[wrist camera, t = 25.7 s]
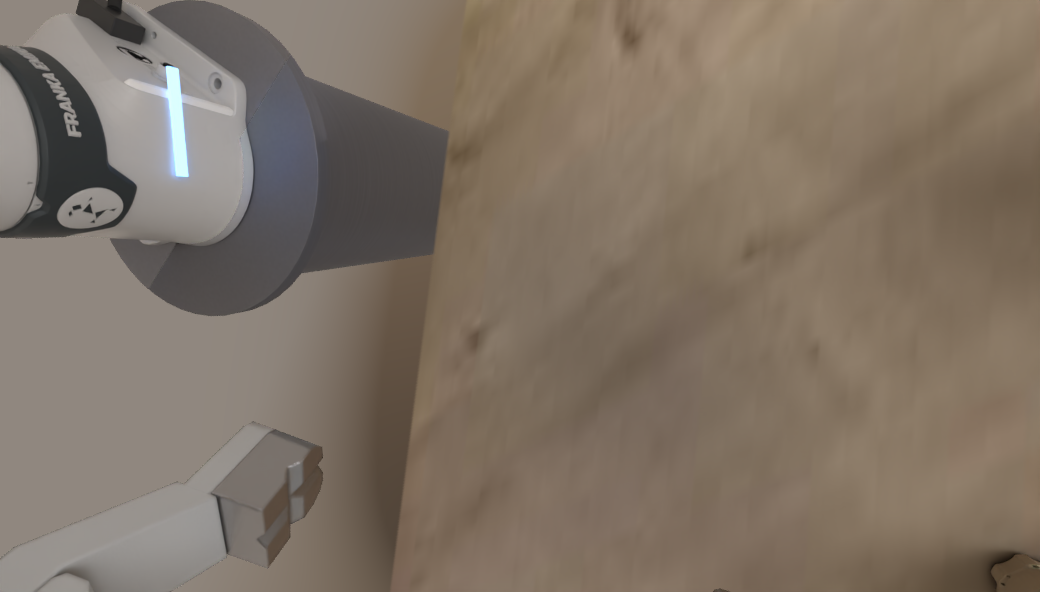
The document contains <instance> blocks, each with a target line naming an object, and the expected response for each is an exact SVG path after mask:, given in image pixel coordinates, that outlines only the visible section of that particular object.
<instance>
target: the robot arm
mask: <svg viewBox="0 0 1040 592" xmlns="http://www.w3.org/2000/svg"><path fill="white" fill-rule="evenodd" d="M76 14H78V15H79V16H78V15H74V14H60V15H56V16H54V17H52V18H50V19H48V20H47V21H46V22H45V23H44V24H43V25H42V26H41V27H40V28H39V29H38V30H37V31H36V32H35V33H34V34H33V35H32V37H31V38H30V39H29V40H28V41H27V42H26V43H25V44H24V45H23V46H22V47H19V46H2V45H0V237H1V238H18V239H19V238H20V239H21V238H22V239H32V238H40V237H41V238H45V237H66V236H85V237H101V238H116V239H135V240H140V241H141V242H142V243H143V244H146V245H163V244H166V243H170V242H176V243H182V244H188V245H193V246H207V245H212V244H215V243H217V242H219V241H221V240H223V239H224V238H226V237H227V236H228V235H229V234H231V233H232V232H233V230H234V229H235V228H236V227H237V226H238V224H239V223H240V221H241V220H242V218H243V216H244V214H245V212H246V209H247V207H248V204H249V201H250V197H251V193H252V186H253V157H252V150H251V145H250V141H249V137H248V133H247V129H246V122H245V119H246V103H247V97H246V89H245V85H244V83H243V82H242V81H241V80H240V79H239V78H238V77H236V76H235V75H234V74H232V73H231V72H229V71H228V70H227V69H225V68H224V67H222V66H221V65H220V64H218V63H217V62H215V61H214V60H213V59H211V58H210V57H208V56H207V55H206V54H204V53H203V52H202V51H200V50H199V49H197V48H196V47H195V46H193V45H192V44H190V43H189V42H188V41H186V40H185V39H183V38H182V37H181V36H179V35H178V34H176V33H175V32H174V31H172V30H171V29H169V28H168V27H167V26H165V25H164V24H162V23H161V22H160V21H158V20H157V19H155V18H154V17H153V16H151V15H150V14H148V13H147V12H146V11H144V10H143V9H141V8H140V7H138V6H136V5H135V4H131V3H127V2H122V0H108V1H106V0H79V3H78V6H77V10H76ZM322 458H323V452H322V447H321V446H318V445H315V444H313V443H310V442H307V441H304V440H302V439H299V438H296V437H294V436H291V435H288V434H286V433H283V432H280V431H278V430H276V429H273V428H270V427H267V426H264V425H261V424H259V423H256V422H251V423H249V424H248V425H245V426H244V427H243V428H241V429H240V430H239V431H238V432H237V433H236V434H235V435H234V436H233V437H232V438H231V439H230V440H229V441H228V442H227V443H226V444H225V445H224V446H223V447H222V448H221V449H219V450H218V452H216V453H215V454H214V455H213V456H212V457H211V458H210V459H209V460H208V461H207V462H206V463H205V464H204V465H203V466H202V467H201V468H200V469H199V470H198V471H197V472H196V473H195V474H194V475H193V476H192V477H190V478H189V479H188V480H187V481H186V482H185V483H184V484H183V483H179V482H175V483H172V484H170V485H167V486H165V487H162V488H160V489H157V490H155V491H152V492H150V493H147V494H145V495H142V496H140V497H137V498H135V499H132V500H130V501H128V502H125V503H122V504H120V505H117V506H115V507H113V508H110V509H108V510H105V511H103V512H100V513H98V514H95V515H93V516H90V517H88V518H85V519H83V520H80V521H78V522H75V523H73V524H70V525H68V526H66V527H63V528H60V529H58V530H55V531H53V532H51V533H48V534H46V535H43V536H41V537H38V538H36V539H33V540H31V541H28V542H26V543H23V544H21V545H18V546H16V547H13V548H12V549H11V550H10V551H8V552H7V553H6V554H5V555H4V556H2V557H1V558H0V592H171V591H173V590H175V589H176V588H178V587H179V586H181V585H183V584H184V583H186V582H188V581H189V580H191V579H192V578H194V577H195V576H197V575H199V574H200V573H202V572H204V571H205V570H207V569H209V568H210V567H212V566H214V565H215V564H217V563H218V562H220V561H222V560H223V559H225V558H226V557H227V554H228V555H231V556H234V557H237V558H240V559H243V560H245V561H249V562H251V563H254V564H257V565H260V566H262V567H265V568H269V566H270V564H271V563H272V562H273V561H274V559H275V558H276V557H277V555H278V554H279V552H280V551H281V550H282V548H283V547H284V545H285V544H286V542H287V541H288V540H289V538H290V524H292V523H294V522H296V521H298V520H300V519H302V518H304V517H305V516H306V514H307V513H308V511H309V510H310V509H311V507H312V506H313V504H314V502H315V500H316V498H317V496H318V494H319V492H320V489H321V485H322V481H323V472H322V470H321V469H320V468H319V466H318V464H319V462H320V461H321V460H322ZM713 592H729V591H726V590H723V589H716V590H714V591H713Z"/></svg>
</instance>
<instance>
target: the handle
mask: <svg viewBox="0 0 1040 592" xmlns="http://www.w3.org/2000/svg"><path fill="white" fill-rule="evenodd" d="M991 574H992V576H993V578H994V579H995V580H996V582H997V588H996V592H1040V562H1038V561H1035V560H1033V559H1031V558H1030V557H1029V556H1027V555H1022V554H1020V555H1014V557H1013V558H1012V559H1010V560H1008V561H1006V562H1004V563H1000V564H995V565H994V566H993V568H992V570H991Z"/></svg>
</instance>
